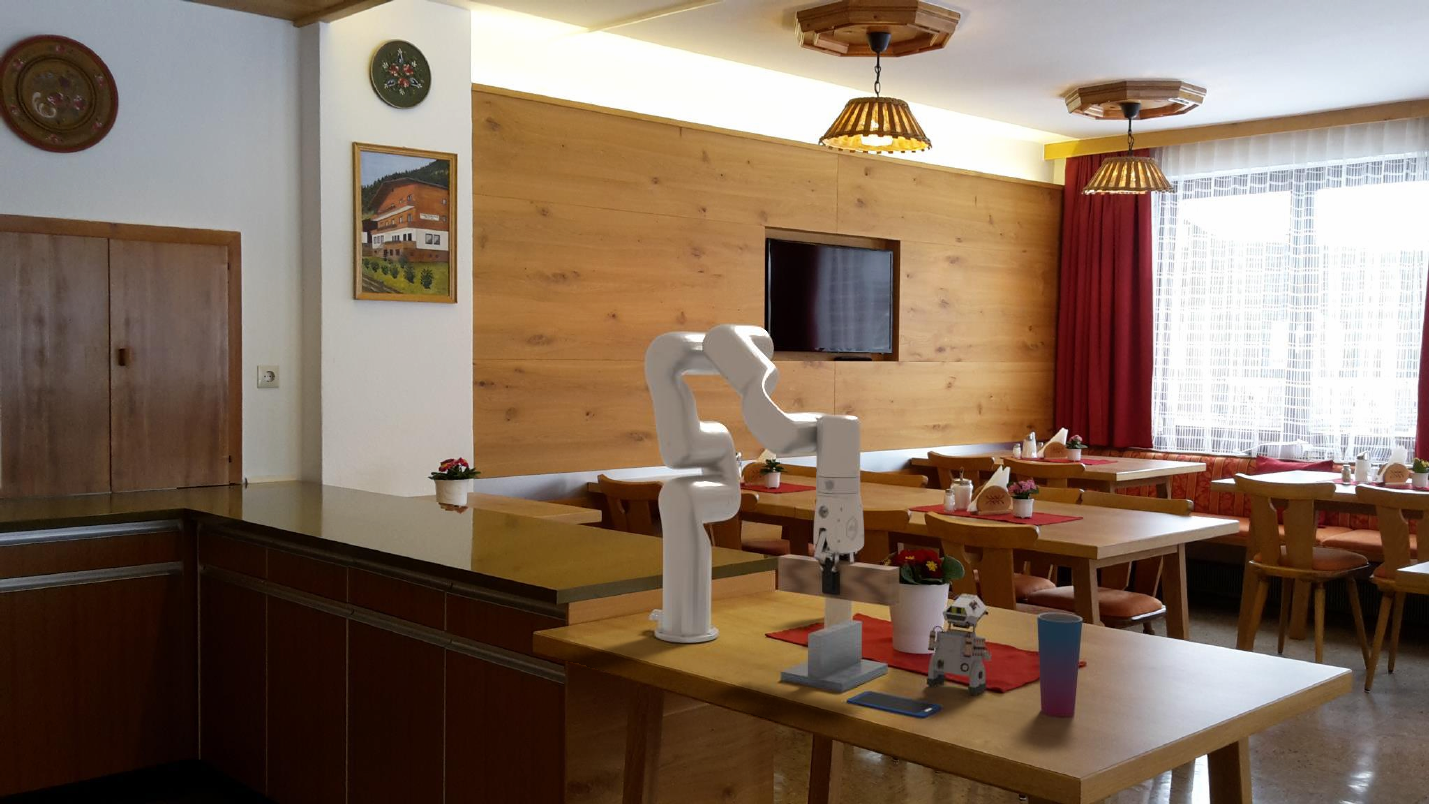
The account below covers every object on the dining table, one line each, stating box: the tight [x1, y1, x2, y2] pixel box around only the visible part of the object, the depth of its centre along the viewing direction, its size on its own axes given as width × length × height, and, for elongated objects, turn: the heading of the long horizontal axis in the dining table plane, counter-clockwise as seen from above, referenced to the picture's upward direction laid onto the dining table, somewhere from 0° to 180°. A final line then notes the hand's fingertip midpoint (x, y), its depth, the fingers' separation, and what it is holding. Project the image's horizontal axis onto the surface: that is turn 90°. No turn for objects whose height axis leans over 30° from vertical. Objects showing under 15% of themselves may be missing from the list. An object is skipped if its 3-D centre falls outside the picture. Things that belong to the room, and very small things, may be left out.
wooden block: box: [777, 553, 900, 607], centre depth 202 cm, size 22×4×6 cm, turn 54°
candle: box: [823, 597, 854, 629], centre depth 231 cm, size 6×6×10 cm
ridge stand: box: [780, 620, 889, 694], centre depth 202 cm, size 12×16×8 cm
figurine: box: [926, 593, 993, 697], centre depth 197 cm, size 9×12×15 cm
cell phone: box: [846, 690, 943, 719], centre depth 186 cm, size 7×14×1 cm, turn 54°
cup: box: [1036, 612, 1083, 718], centre depth 183 cm, size 7×7×15 cm
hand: (837, 591), depth 202 cm, fingers closed on wooden block, 3 cm apart
